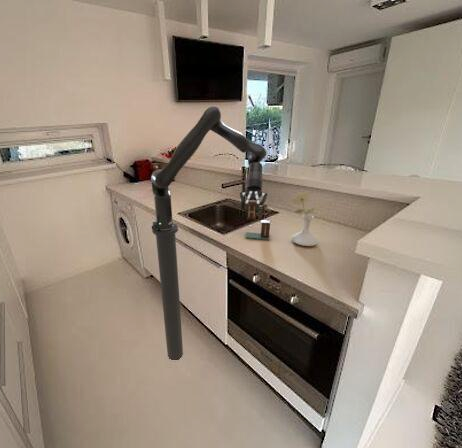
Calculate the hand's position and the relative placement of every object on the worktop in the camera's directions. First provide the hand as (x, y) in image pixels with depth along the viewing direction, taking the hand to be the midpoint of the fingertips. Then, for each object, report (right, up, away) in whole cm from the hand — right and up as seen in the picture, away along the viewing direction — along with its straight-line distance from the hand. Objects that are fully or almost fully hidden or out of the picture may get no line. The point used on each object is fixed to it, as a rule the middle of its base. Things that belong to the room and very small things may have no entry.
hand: (251, 211), depth 119 cm
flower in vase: (+24, -15, -2) cm, 28 cm away
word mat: (+4, -13, +6) cm, 15 cm away
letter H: (+1, -3, +3) cm, 4 cm away
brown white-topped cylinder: (+8, -12, +5) cm, 15 cm away
